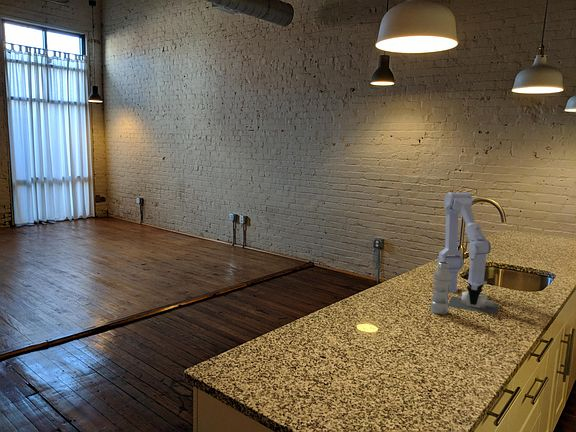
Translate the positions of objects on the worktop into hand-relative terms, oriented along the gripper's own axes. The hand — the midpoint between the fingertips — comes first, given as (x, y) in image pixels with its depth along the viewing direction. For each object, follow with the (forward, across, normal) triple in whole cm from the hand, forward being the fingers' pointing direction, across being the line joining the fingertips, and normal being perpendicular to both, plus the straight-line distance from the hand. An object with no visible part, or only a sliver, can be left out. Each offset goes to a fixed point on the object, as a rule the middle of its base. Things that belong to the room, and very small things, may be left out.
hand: (473, 302), depth 179 cm
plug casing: (+1, 0, -1) cm, 2 cm away
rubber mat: (+2, 0, 0) cm, 2 cm away
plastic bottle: (+2, -16, +11) cm, 19 cm away
